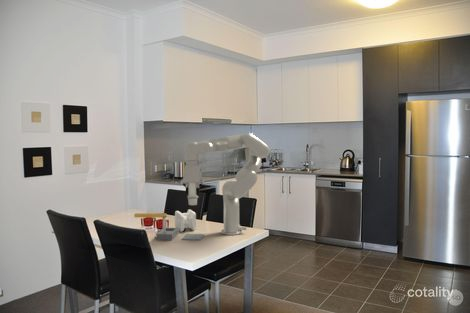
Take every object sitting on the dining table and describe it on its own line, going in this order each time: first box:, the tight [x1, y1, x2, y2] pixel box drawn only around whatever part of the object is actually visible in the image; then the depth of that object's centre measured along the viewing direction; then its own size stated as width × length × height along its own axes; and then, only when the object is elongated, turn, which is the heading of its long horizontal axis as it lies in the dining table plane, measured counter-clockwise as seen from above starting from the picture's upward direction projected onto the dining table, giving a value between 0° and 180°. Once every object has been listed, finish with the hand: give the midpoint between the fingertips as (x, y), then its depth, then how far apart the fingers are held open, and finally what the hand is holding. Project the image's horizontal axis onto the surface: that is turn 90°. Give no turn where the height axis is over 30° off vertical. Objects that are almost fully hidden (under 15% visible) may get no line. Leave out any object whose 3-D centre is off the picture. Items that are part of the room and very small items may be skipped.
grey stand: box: [155, 217, 180, 241], centre depth 222 cm, size 9×16×13 cm, turn 174°
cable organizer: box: [174, 209, 197, 233], centre depth 239 cm, size 15×11×12 cm
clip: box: [134, 212, 168, 218], centre depth 214 cm, size 3×18×2 cm, turn 89°
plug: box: [186, 183, 199, 206], centre depth 220 cm, size 6×6×13 cm
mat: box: [180, 233, 205, 241], centre depth 221 cm, size 11×12×1 cm
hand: (192, 194), depth 220 cm, fingers closed on plug, 5 cm apart
